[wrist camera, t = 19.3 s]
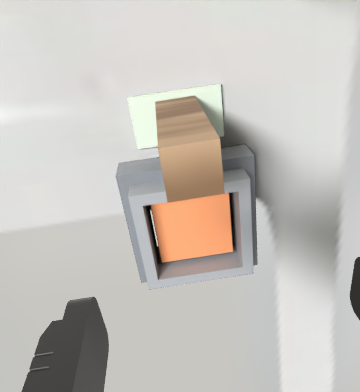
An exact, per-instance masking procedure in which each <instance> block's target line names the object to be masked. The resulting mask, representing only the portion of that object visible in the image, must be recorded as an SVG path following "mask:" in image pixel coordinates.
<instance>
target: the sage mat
mask: <svg viewBox="0 0 360 392" xmlns="http://www.w3.org/2000/svg"><path fill="white" fill-rule="evenodd" d="M188 96H195V97H196V99H197V101H198V102H199V104H200V106H201V107H202V109H203V111H204V112H205V114H206V116H207V118H208V119H209V121H210V123H211V124H212V126H213V128H214V129H215V131H216V133H217V134H218V136H219V137H223V136H224V124H223V109H222V95H221V84H213V85H207V86H200V87H193V88H186V89H180V90H173V91H166V92H160V93H153V94H146V95H139V96H133V97H127V100H128V105H129V110H130V115H131V120H132V125H133V130H134V135H135V140H136V145H137V149H144V148H150V147H157V146H158V141H157V125H156V109H155V102H156V101H163V100H169V99H175V98H182V97H188Z"/></svg>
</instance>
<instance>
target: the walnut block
mask: <svg viewBox="0 0 360 392" xmlns="http://www.w3.org/2000/svg"><path fill="white" fill-rule="evenodd" d="M155 109H156V125H157V141H158V151H159V157H160V163H161V168H162V174H163V180H164V185H165V191H166V196H167V202H168V203H170V202H176V201H182V200H188V199H195V198H201V197H207V196H214V195H220V194H225V191H224V179H223V168H222V156H221V144H220V138H219V136H218V134H217V133H216V131H215V129H214V128H213V126H212V124H211V123H210V121H209V119H208V118H207V116H206V114H205V112H204V111H203V109H202V107H201V106H200V104H199V102H198V101H197V99H196V97H195V96H188V97H182V98H175V99H169V100H163V101H156V102H155Z"/></svg>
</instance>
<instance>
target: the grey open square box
mask: <svg viewBox="0 0 360 392" xmlns="http://www.w3.org/2000/svg"><path fill="white" fill-rule="evenodd" d="M221 156H222V168H223V179H224V191H225V193H229V203H230V217H231V232H232V246H233V252H228V253H222V254H215V255H208V256H202V257H195V258H189V259H182V260H176V261H169V262H163V263H162V261H161V255H160V250H159V246H158V247H157V244H156V239H155V234H154V229H153V224H152V219H151V214H150V209H149V205H152V204H159V203H165V202H167V196H166V191H165V185H164V180H163V174H162V168H161V163H160V157H157V158H150V159H144V160H137V161H130V162H124V163H119V164H118V169H117V173H116V179H117V183H118V188H119V192H120V196H121V200H122V204H123V208H124V213H125V217H126V221H127V225H128V229H129V233H130V238H131V242H132V246H133V250H134V255H135V259H136V263H137V267H138V271H139V275H140V280H141V282H148V286H149V290H151V289H157V288H164V287H170V286H177V285H183V284H190V283H196V282H202V281H208V280H215V279H222V278H228V277H235V276H241V275H248V274H253V273H254V272H253V265H257V233H256V198H255V165H254V154H253V153H252V152H251V151H250V149H249V148H248V147H247V145H246V144H243V145H237V146H230V147H223V148H221Z"/></svg>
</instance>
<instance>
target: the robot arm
mask: <svg viewBox="0 0 360 392" xmlns="http://www.w3.org/2000/svg"><path fill="white" fill-rule="evenodd" d="M350 300H351V305H352V307H353V310H354V312H355V314H356V315H357V317H358V318H359V320H360V257H358V258H357V259H356V260H355V264H354V270H353V277H352V284H351V291H350ZM108 349H109V344H108V334H107V330H106V327H105V324H104V321H103V318H102V315H101V312H100V309H99V306H98V303H97V300H96V298H95V297H89V298H82V299H76V300H70V301H69V302H68V303H67V306H66V309H65V313H64V317H63V320H58V321H52V322H51V324H50V325H49V326H48V328H47V329H46V330H45V332H44V333H43V334H42V335H41V337H40V339H39V343H38V345H37V348H36V351H35V357H34V358H33V360H32V363H31V366H30V372H29V373H28V375H27V378H26V381H25V384H24V386H23V390H22V392H104V384H105V376H106V368H107V359H108V351H109V350H108Z"/></svg>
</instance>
